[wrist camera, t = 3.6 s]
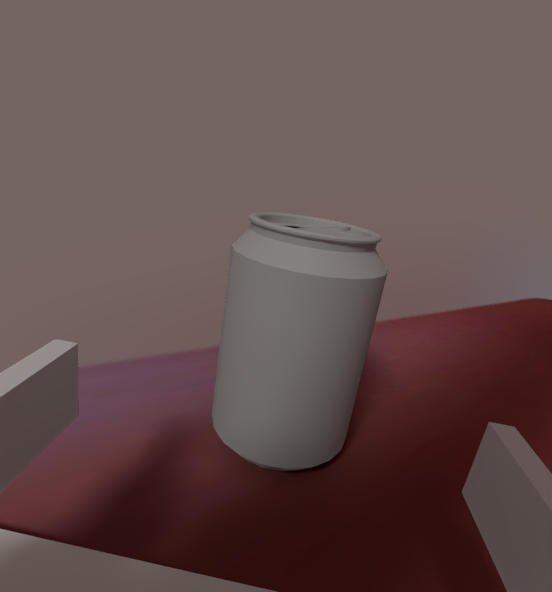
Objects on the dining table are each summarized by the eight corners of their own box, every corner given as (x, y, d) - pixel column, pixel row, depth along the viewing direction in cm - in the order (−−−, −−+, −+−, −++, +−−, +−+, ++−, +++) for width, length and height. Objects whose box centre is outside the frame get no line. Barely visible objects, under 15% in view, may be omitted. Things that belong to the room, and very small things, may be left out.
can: (258, 381, 26) (285, 205, 23) (360, 428, 23) (412, 232, 19) (180, 435, 20) (201, 205, 16) (306, 512, 17) (368, 244, 13)
